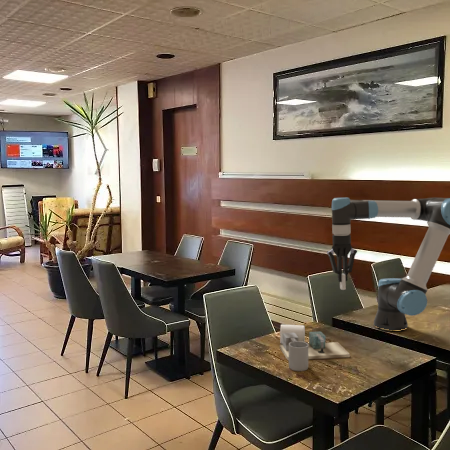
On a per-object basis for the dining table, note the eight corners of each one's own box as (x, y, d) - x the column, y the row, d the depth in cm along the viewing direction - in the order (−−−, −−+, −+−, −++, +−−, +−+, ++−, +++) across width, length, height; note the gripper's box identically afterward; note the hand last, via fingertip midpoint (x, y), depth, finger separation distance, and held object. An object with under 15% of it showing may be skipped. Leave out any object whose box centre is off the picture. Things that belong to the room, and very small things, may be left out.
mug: (304, 347, 203) (304, 328, 202) (280, 346, 205) (280, 327, 204) (305, 338, 215) (305, 320, 214) (282, 336, 216) (282, 319, 216)
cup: (295, 372, 177) (295, 349, 176) (281, 363, 186) (281, 340, 185) (312, 369, 180) (312, 346, 179) (297, 360, 189) (297, 337, 188)
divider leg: (320, 343, 203) (320, 331, 203) (328, 351, 193) (328, 339, 193) (309, 343, 203) (309, 331, 202) (316, 352, 193) (316, 339, 192)
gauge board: (337, 344, 205) (338, 329, 205) (349, 357, 191) (350, 340, 191) (279, 347, 202) (279, 332, 202) (287, 360, 189) (287, 344, 188)
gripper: (352, 232, 210) (353, 285, 213) (323, 234, 208) (325, 288, 211) (359, 234, 203) (361, 289, 205) (330, 236, 201) (331, 292, 203)
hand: (342, 288), depth 208 cm, fingers closed
